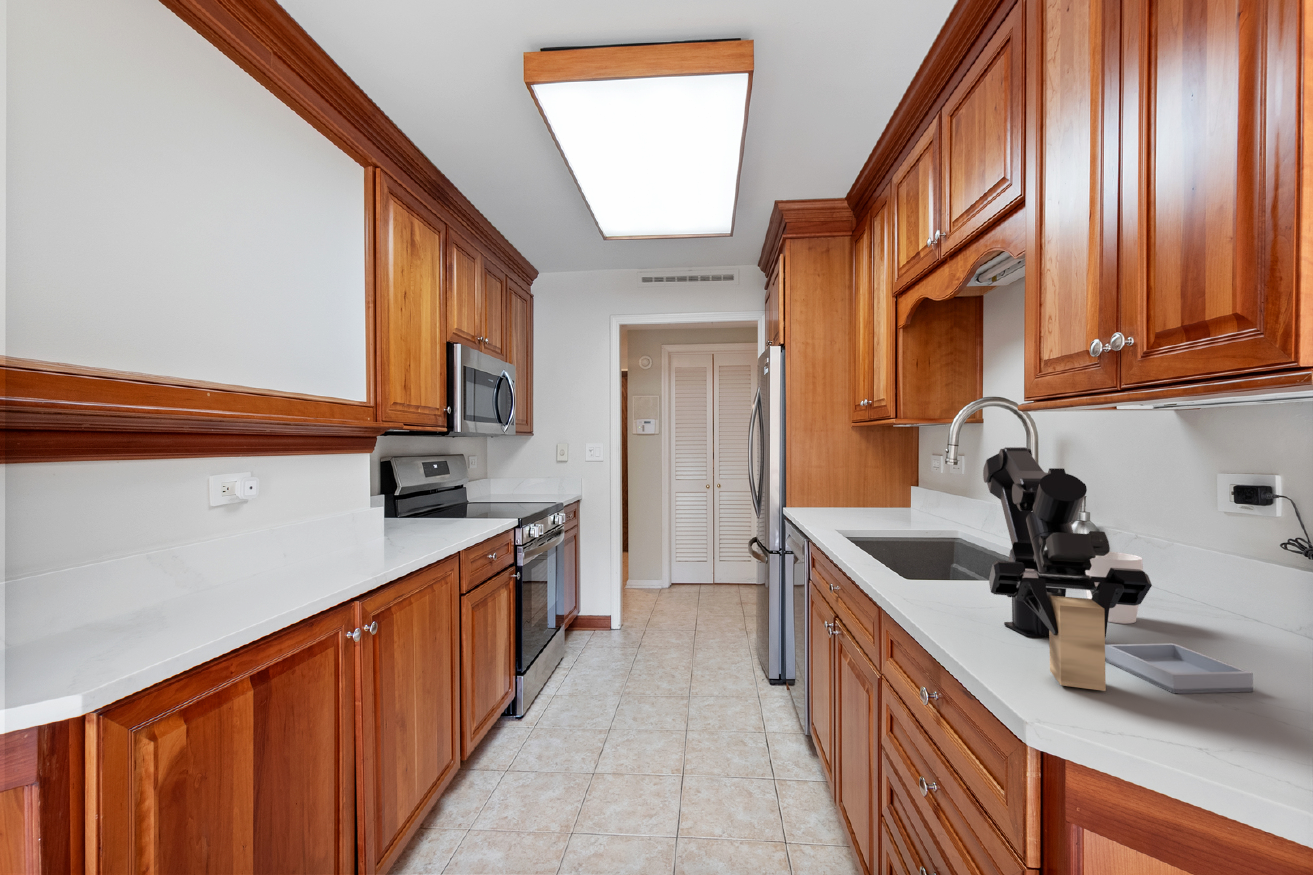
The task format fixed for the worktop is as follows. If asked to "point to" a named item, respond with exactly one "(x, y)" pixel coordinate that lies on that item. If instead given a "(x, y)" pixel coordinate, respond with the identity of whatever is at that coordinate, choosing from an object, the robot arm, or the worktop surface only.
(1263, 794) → the worktop surface
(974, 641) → the worktop surface
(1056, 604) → the oak block
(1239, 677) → the dish
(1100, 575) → the cup
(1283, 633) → the worktop surface
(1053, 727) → the worktop surface
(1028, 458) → the robot arm
